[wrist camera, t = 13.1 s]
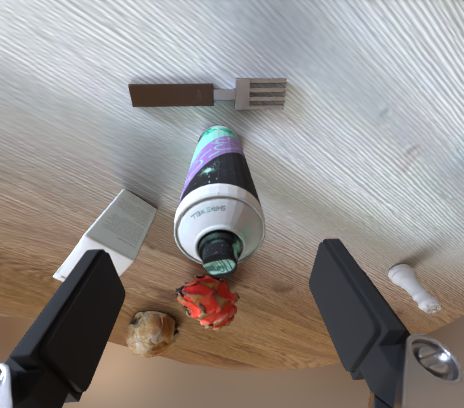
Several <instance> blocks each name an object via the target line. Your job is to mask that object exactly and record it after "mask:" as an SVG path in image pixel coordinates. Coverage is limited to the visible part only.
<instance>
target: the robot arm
mask: <svg viewBox="0 0 464 408" xmlns="http://www.w3.org/2000/svg"><path fill="white" fill-rule="evenodd" d="M309 287H310V290H311V292H312V295H313V297H314V299H315V302H316V304H317V306H318V309H319V311H320V313H321V316H322V318H323V320H324V323H325V325H326V327H327V330H328V332H329V334H330V337H331V339H332V341H333V343H334V346H335V348H336V350H337V353H338V355H339V357H340V360H341V362H342V364H343V366H344V368H345V369H346V371H348V372H349V371H350V374H351V376H352V378H353V380H359V379H365V380H366V383H367V384H368V387H369V389H370V391H371V392H370V398H369V404H368V408H464V367H463V365H462V364H461V362H460V361H459V359H458V358H457V357H456V356H455V354H454V353H452V351H451V350H450V349H448V348H447V347H445V345H443V344H442V343H440V342H439V341H437V340H436V339H434V338H432V337H429V336H426V335H423V334H412V335H411V334H410V333H409V331H408V330H407V329H406V327H405V326H404V325H403V323H402V322H401V321H400V319H399V318H398V316H397V315H396V314H395V312H394V311H393V310H392V308H391V307H390V306H389V304H388V303H387V302H386V300H385V299H384V298H383V296H382V295H381V293H380V292H379V291H378V289H377V288H376V287H375V285H374V284H373V283H372V281H371V280H370V279H369V277H368V276H367V275H366V273H365V272H364V271H363V270H362V269H361V268H360V267H359V265H358V264H357V263H356V261H355V260H354V258H353V257H352V256H351V254H350V253H349V252H348V250H347V249H346V248H345V246H344V245H343V243H342V242H341V241H340V240H339V239H324V240H323V242H321V243H320V244H319V248H318V251H317V255H316V258H315V262H314V265H313V269H312V272H311V276H310V280H309ZM124 299H125V290H124V287H123V285H122V283H121V280H120V278H119V276H118V273H117V271H116V268H115V266H114V264H113V261H112V259H111V257H110V254H109V253H108V252H105V250H104V249H92V250H87V251H86V252H85V253H84V254H83V256H82V257H81V258H80V260H79V261H78V263H77V264H76V265H75V267H74V268H73V269H72V271H71V272H70V274H69V275H68V276H67V278H66V279H65V280H64V282H63V283H62V284H61V286H60V287H59V289H58V290H57V291H56V293H55V294H54V295H53V297H52V298H51V300H50V301H49V302H48V304H47V305H46V306H45V308H44V309H43V311H42V312H41V313H40V315H39V316H38V317H37V319H36V320H35V321H34V323H33V324H32V326H31V327H30V328H29V330H28V331H27V332H26V334H25V335H24V337H23V338H22V339H21V341H20V342H19V343H18V345H17V346H16V347H15V349H14V350H13V352H12V353H11V354H10V356H9V358H8V360H7V361H6V362H5V364H4V363H0V408H62V406H63V404H64V403H67V402H79V400H80V398H81V395H82V393H83V392H84V391H86V390H87V389H88V387H89V385H90V383H91V381H92V378H93V376H94V373H95V371H96V368H97V366H98V363H99V361H100V358H101V356H102V354H103V351H104V349H105V346H106V344H107V341H108V339H109V336H110V334H111V331H112V329H113V326H114V324H115V322H116V319H117V317H118V314H119V312H120V309H121V307H122V304H123V302H124Z"/></svg>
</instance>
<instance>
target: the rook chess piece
mask: <svg viewBox="0 0 464 408" xmlns="http://www.w3.org/2000/svg"><path fill="white" fill-rule="evenodd" d="M416 275H417V274H416V272H415V270H413V269H412V267H411V266H409V265H407V264H399V265H396V266H394V267H393V268H391V269H390V271H389V273H388V277H389V279H390V280H392V282H393V283H394V284H396V285H399V286H400V287H402V288H404V289H405V290H406V291H407V292H408V293H409V294H410V295H411V296H412V297H413V300H415V301H417V302H418V307H419V309H421V310H424V311H425V312H426V313H428V314H431V312H430V311H432V312H433V313H435V312H436V311H435V310H434V309H436V308H437V309H438V310H440V309H441V308H440V307H442V306H441V304H440V303H439V299H438V298H435V297H432V296H431V295H430V292H429V291H427V290H426V289H425V288H424V287H423V286H422V285H421V283H420V282H419V281H418V277H417V276H416Z"/></svg>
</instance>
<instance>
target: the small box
mask: <svg viewBox="0 0 464 408" xmlns="http://www.w3.org/2000/svg"><path fill="white" fill-rule="evenodd" d="M156 212H157V209H156V208H154V207H153V206H151V205H150V204H148V203H147V202H145V201H143V200H142V199H140V198H139V197H137V196H136V195H134V194H133V193H131V192H130V191H128V190H126V189H125V188H124V189H123V190H122V191H121V192H120V193H119V194H118V196H117V197H116V198H115V199H114V200H113V201H112V203H111V204H110V205H109V206H108V207H107V208H106V210H105V211H104V212H103V213H102V214H101V215H100V217H99V218H98V219H97V220H96V221H95V222H94V223H93V225H92V226H91V227H90V228H89V229H88V230H87V232H86V233H85V234H84V235H83V237H82V239H81V240H80V242H79V243H78V245H77V246H76V247H75V249H74V250H73V251H72V253H71V254H70V255H69V257H68V258H67V259H66V261H65V262H64V263H63V264H62V266H61V267H60V268H59V269H58V271H57V272H56V273H55V274H54V275H53V277H54V278H56V279H58V280H60V281H62V282H64V280H65V279H66V278H67V276H68V275H69V274H70V272H71V271H72V269H73V268H74V267H75V265H76V264H77V263H78V261H79V260H80V258H81V257H82V256H83V254H84V253H85V252H86V251H87V250H92V249H104V250H105V252H108V253H109V254H110V257H111V259H112V261H113V264H114V266H115V268H116V271H117V273H118V276H119V277H120V276H121V275H122V274H123V273H124V272H125V271H126V270H127V269H128V268H129V266H130V265H131V264H132V263H133V262H134V261H135V259H136V257H137V255H138V253H139V250H140V248H141V246H142V244H143V242H144V239H145V237H146V234H147V232H148V230H149V228H150V226H151V224H152V221H153V219H154V217H155V214H156Z"/></svg>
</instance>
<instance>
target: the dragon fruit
mask: <svg viewBox="0 0 464 408" xmlns="http://www.w3.org/2000/svg"><path fill="white" fill-rule="evenodd" d="M194 277H196V278H198V279H194V280H193V281H192V282H188V283H186V282H185V283H184V285H183V286H182V287H180V288H179V289H177V288H176V292H177V291H179V293H178V294H176V297H177V299H178V301H179V302H180V303H181V304H182V305H184V306H182V307H183V309H184V310H185V311H186V315H187V316H189V317H190V318H194V319H196V320H198V321H200V322H201V323H200V324H201V325H202V326H205V328H206V329H208V328H209V327H210V326H212V327H213V329H214V330H220V329H221V328H222V326H228V325H229V324H230V322H231V321H232V320H233V319H234V314H236V313H237V308H236V306H235V305H234V303H235V302H237V301H238V299H239V298H240V297H239V296H238V294H237V293H234V294H231V293H230V291H229V288H228V284H227V282H226V280H225V278H221V279H220V282H219V281H218V280H216V279H213V278H212V277H211V276H207V275H206V274H204V275H202V274H201V275H195V276H194ZM180 290H181V291H180ZM181 292H182V293H183V294H182V293H181ZM187 307H188V308H189V309H191V314H189V311H188V310H187V309H185V308H187Z"/></svg>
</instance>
